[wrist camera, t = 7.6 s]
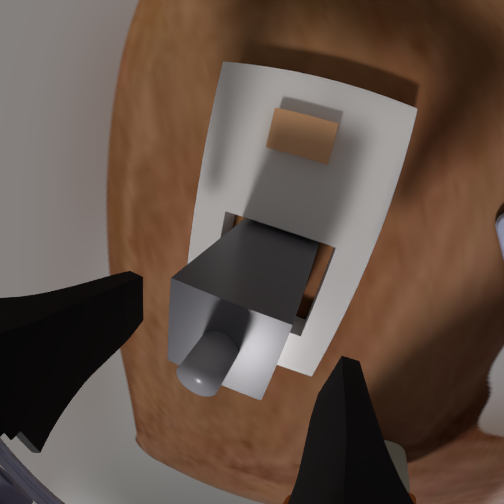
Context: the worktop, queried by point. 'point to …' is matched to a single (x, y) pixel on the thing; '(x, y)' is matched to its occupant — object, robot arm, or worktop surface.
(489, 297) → the worktop surface
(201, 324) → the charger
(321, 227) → the white board with cutouts
